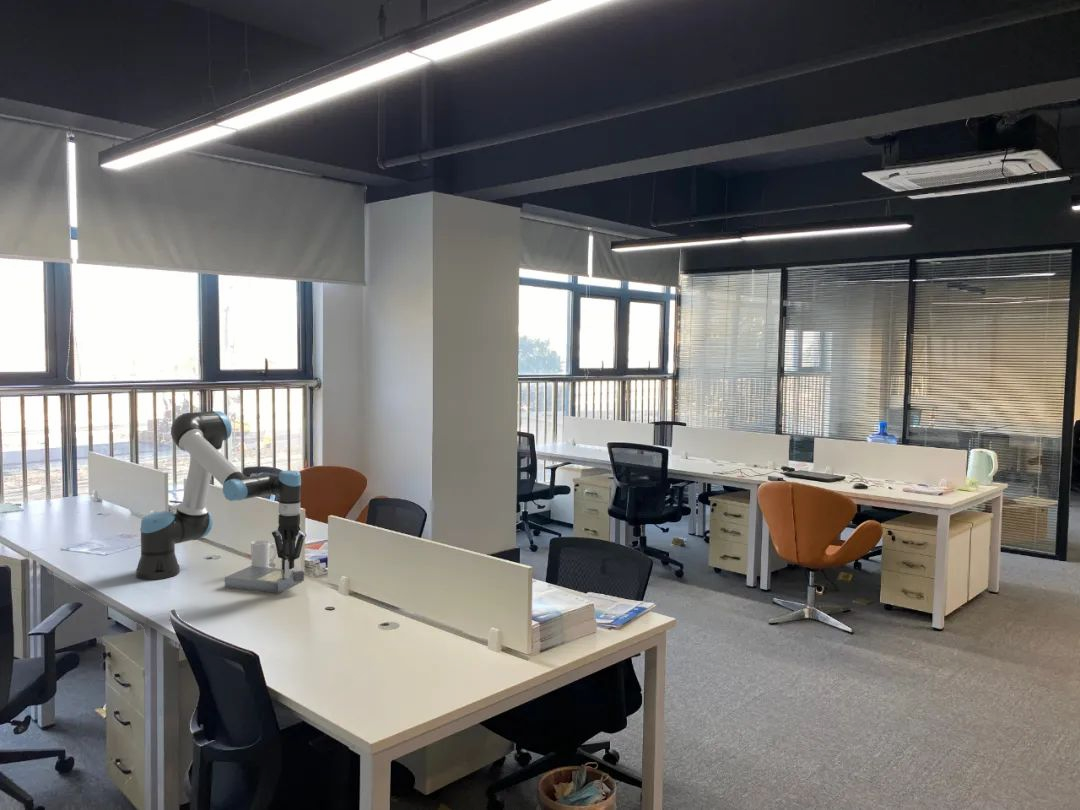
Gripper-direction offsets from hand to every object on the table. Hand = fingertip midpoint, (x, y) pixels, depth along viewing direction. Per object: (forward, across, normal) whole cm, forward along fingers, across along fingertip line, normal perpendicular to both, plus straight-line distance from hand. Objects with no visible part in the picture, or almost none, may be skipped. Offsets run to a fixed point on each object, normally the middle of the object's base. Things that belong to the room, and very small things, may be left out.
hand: (288, 577), depth 281 cm
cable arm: (+1, -2, +6) cm, 6 cm away
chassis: (+5, -12, +4) cm, 14 cm away
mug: (+6, -22, +19) cm, 30 cm away
